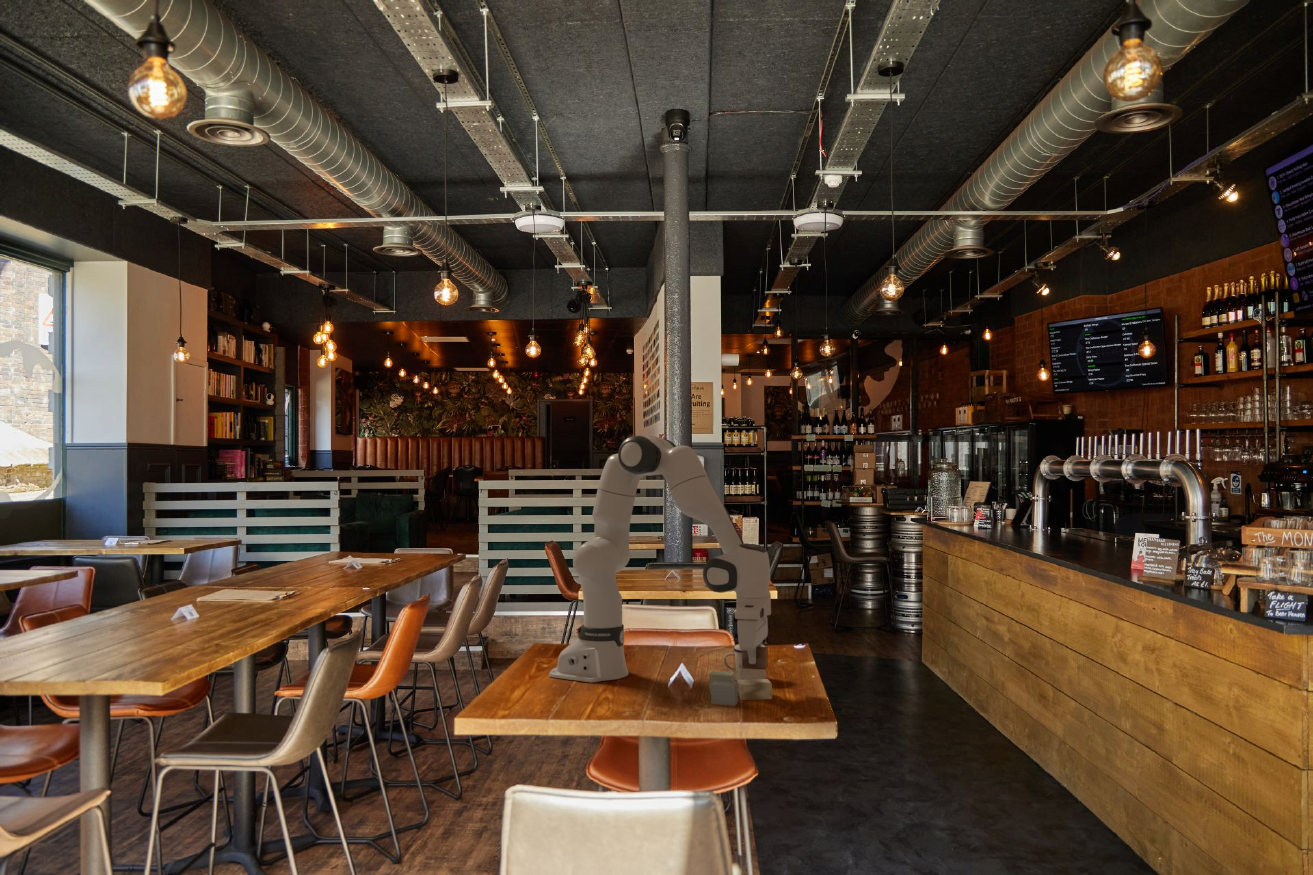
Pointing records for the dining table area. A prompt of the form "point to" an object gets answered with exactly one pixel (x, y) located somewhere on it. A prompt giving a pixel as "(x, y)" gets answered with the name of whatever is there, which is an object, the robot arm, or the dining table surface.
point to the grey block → (724, 693)
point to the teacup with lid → (739, 671)
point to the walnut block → (761, 659)
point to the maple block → (754, 689)
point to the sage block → (721, 677)
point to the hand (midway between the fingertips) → (754, 661)
